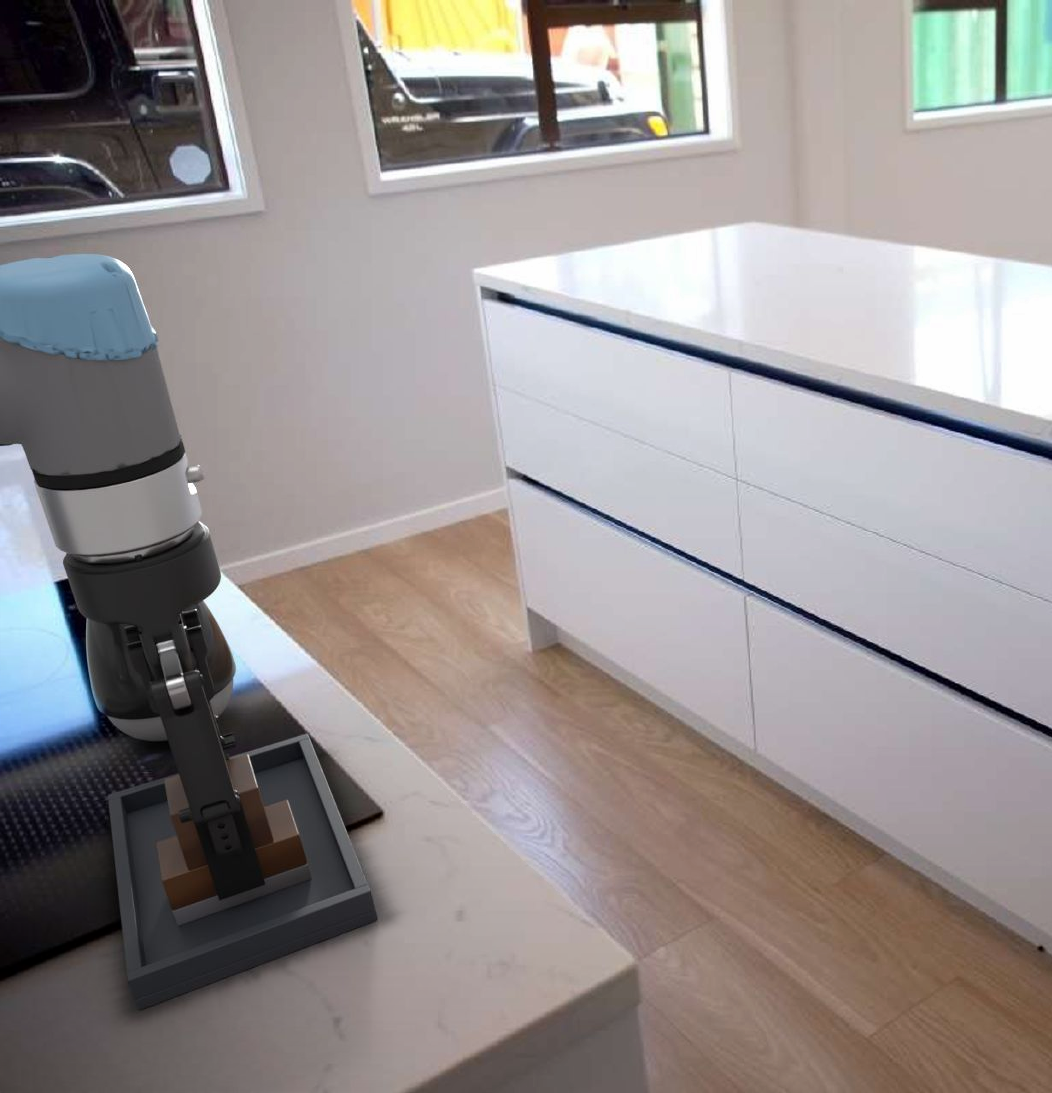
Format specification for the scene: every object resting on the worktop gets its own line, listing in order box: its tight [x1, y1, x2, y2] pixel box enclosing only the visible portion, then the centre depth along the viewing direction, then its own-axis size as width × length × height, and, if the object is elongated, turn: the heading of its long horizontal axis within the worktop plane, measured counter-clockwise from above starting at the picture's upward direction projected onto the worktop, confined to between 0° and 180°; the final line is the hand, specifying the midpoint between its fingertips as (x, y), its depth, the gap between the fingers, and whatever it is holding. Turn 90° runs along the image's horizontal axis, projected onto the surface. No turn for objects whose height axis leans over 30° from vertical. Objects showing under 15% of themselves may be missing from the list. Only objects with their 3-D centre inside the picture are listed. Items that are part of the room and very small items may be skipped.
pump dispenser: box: [85, 600, 237, 742], centre depth 98 cm, size 10×10×15 cm
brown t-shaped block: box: [157, 754, 312, 926], centre depth 79 cm, size 4×8×8 cm, turn 120°
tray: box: [107, 733, 379, 1011], centre depth 83 cm, size 22×14×2 cm, turn 31°
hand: (236, 866), depth 80 cm, fingers closed on brown t-shaped block, 4 cm apart
